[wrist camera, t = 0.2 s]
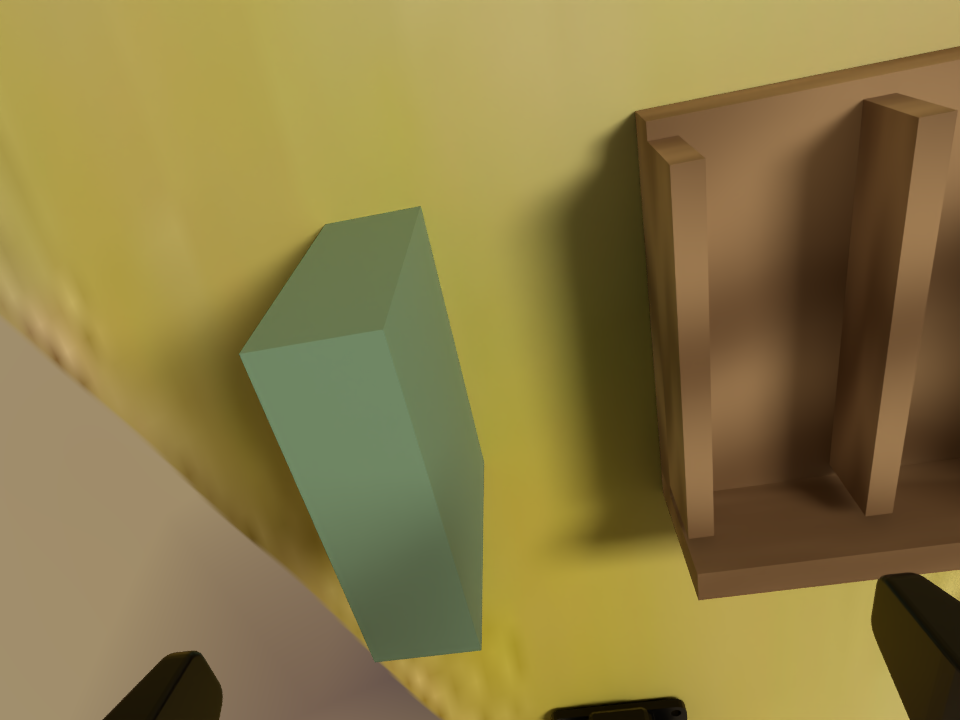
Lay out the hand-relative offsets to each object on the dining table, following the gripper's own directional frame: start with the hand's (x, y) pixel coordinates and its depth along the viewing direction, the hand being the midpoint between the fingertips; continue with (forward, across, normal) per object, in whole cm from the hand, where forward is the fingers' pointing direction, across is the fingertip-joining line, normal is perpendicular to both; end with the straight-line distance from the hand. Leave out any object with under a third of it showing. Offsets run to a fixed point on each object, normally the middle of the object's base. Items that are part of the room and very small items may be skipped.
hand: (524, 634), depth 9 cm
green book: (+14, +4, +3) cm, 14 cm away
